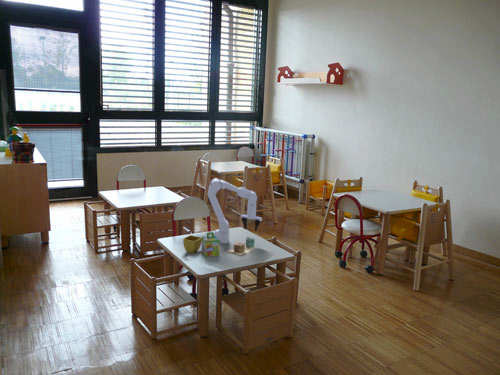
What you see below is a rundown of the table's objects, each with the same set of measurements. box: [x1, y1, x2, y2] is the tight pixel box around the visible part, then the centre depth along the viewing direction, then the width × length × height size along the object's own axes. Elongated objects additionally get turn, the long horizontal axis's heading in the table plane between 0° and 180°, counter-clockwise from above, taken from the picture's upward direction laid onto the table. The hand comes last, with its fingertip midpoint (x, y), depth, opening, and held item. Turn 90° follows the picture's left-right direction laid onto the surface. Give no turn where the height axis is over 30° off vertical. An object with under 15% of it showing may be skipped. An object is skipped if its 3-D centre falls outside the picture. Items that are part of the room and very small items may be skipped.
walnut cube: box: [233, 241, 246, 253], centre depth 266 cm, size 5×5×5 cm
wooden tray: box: [227, 236, 257, 257], centre depth 270 cm, size 10×19×6 cm, turn 149°
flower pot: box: [182, 234, 202, 254], centre depth 266 cm, size 9×9×9 cm
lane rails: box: [218, 246, 260, 262], centre depth 267 cm, size 14×26×2 cm, turn 149°
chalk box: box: [200, 231, 221, 258], centre depth 260 cm, size 9×9×15 cm
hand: (250, 229), depth 283 cm, fingers open, 7 cm apart
